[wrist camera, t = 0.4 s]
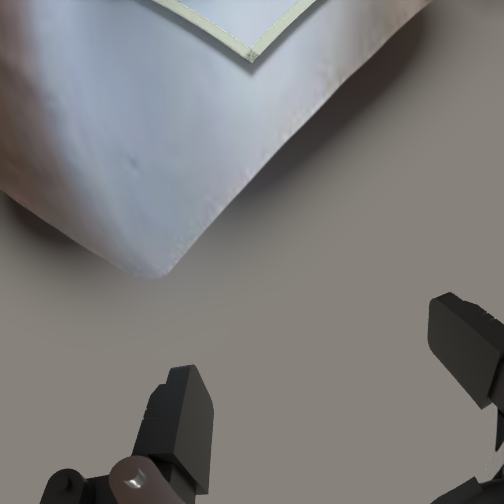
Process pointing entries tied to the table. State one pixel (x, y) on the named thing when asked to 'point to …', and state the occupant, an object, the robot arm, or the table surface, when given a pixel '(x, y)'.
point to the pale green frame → (247, 53)
